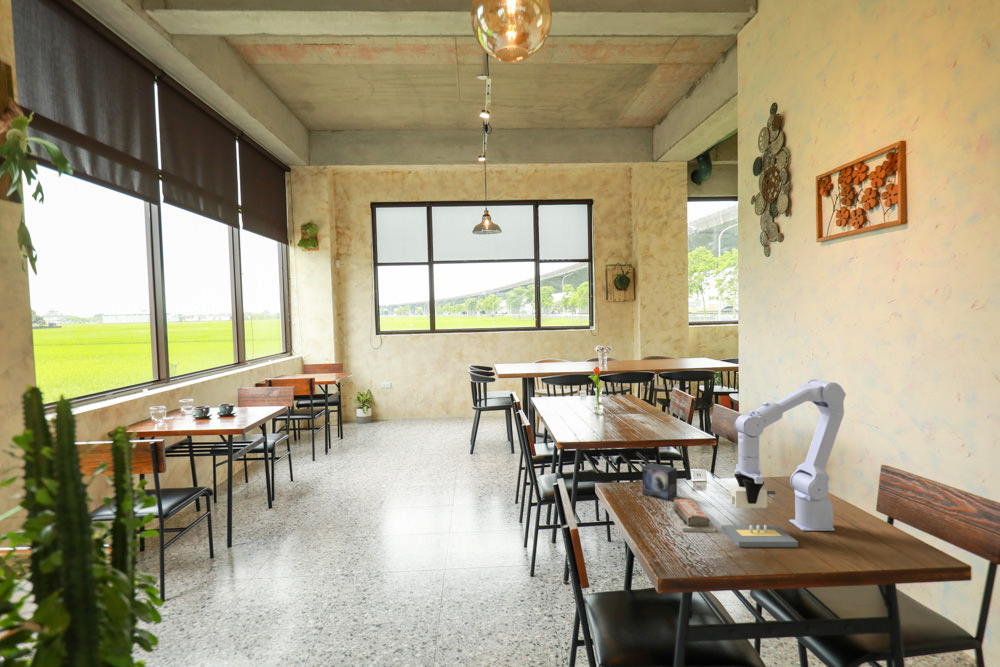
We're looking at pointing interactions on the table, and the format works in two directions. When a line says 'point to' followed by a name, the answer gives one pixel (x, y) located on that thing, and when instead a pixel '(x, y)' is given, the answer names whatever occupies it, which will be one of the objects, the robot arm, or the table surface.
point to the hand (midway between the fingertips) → (749, 500)
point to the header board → (759, 536)
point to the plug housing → (741, 498)
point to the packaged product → (690, 516)
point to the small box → (660, 481)
